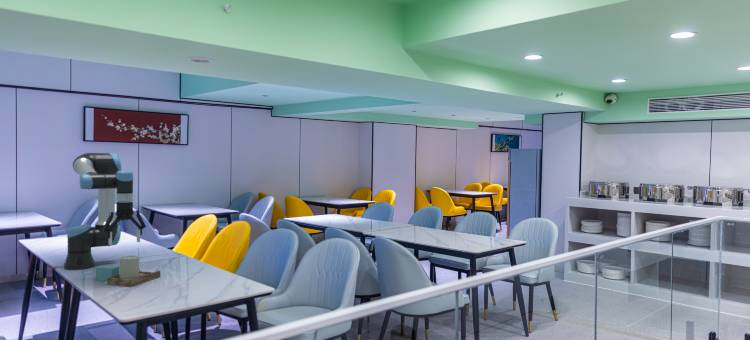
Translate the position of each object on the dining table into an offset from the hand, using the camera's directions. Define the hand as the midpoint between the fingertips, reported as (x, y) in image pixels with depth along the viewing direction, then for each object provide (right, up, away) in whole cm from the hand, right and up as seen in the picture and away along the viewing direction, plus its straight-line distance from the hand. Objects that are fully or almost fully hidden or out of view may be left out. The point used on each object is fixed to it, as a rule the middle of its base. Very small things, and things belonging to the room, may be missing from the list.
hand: (124, 243), depth 266 cm
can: (+3, -19, 0) cm, 19 cm away
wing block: (-10, -19, +3) cm, 22 cm away
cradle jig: (+4, -20, +3) cm, 20 cm away
